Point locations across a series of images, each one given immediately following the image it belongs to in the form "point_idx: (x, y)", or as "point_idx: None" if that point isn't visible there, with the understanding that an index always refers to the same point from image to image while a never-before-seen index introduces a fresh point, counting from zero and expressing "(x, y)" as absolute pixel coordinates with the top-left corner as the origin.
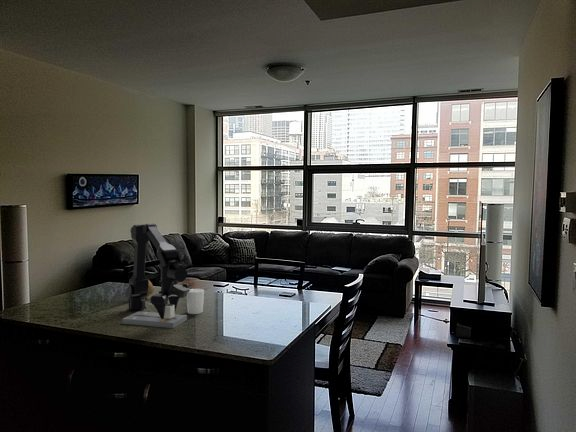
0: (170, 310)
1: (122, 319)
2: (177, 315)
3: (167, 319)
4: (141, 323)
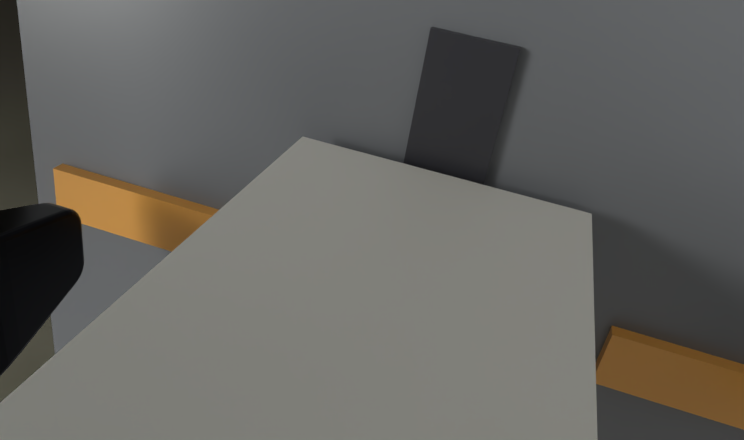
0: (589, 430)
1: None
2: (120, 86)
3: None
4: None
